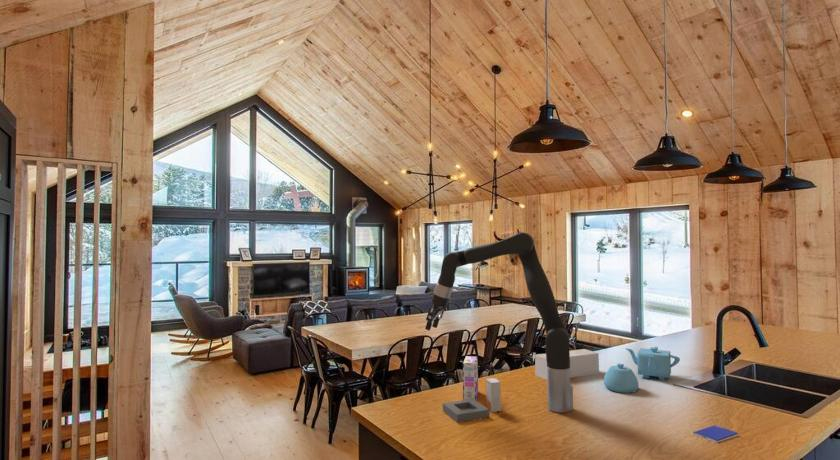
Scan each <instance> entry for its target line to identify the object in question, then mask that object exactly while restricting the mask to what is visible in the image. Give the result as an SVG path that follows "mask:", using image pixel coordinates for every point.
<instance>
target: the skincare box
mask: <svg viewBox="0 0 840 460" xmlns="http://www.w3.org/2000/svg"><path fill="white" fill-rule="evenodd" d="M501 391H502V390H501V381H500V380H499V379H498V378H496V377H490V378H486V408H487V409H489V412H490V413H496V412H497V411H500V412H502V400H501V399H502V398H501V397H502V396H501V395H502V392H501Z"/></svg>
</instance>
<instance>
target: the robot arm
mask: <svg viewBox="0 0 840 460" xmlns="http://www.w3.org/2000/svg"><path fill="white" fill-rule="evenodd" d="M536 249H537V248H536V246H535V241H534V238H533V237H532V235H531V234H529V233H526V232H517V233H515V234H514V235H512V236H509V237H507V238H505V239H502V240H499V241H494V242H492V243H485V244H484V243H483V244H480V245H477V246H476V245H475V246H472V247H469V248H465V249H464V250H463V249H462V250H459V251H454V252H452V251H451V252H448V253H446V254H445V255H444V258H443V260H442V262H441V269H440V275H439V277H438V281H437V283H436V286H435V288H434V291H433V294H432V298H431V301H430V302H431V303H432V304H433V306H432V307H429V309H428V312H427V316H426V318H425V320H426V325H425V328H424V329H425V331H426V330H427V331H431V328H432V327H433V328H438V325H439V323H440V321H441V319H442V318H443V316H444V312H445V309H446V308H447V307H448V305H449V301H450V298H451V294H452V290H453V287H454V284H455V280H456V276H455V275H456V272H457V269H458V268H459V267H463V266H466V265H469V264H470V265H473V264H478V263H480V262H481V263H482V262H484V261H488V260H491V259H494V258H498V257H500V256H506V255H515V254H517V256H518V258H519V260H520V263H521V265H522V269H523V274H524V280H525V285H526V287H527V290H528V293H529V296H530V299H531V301H532V302H533V304H534V308H536V310H537V312H538V313H539V316H540V317H541V320H542V322H543V326H544V329H545V334H546V335H545V354H546V361H547V380H546V381H547V382H546V385H547V386H546V387H547V388H546V389H547V409H548V410H549V411H551V412H555V413H560V414H561V413H569V412H571V411H573V410H574V390H573V389H574V386H573V385H572V382H571V377H570V351H571V350H570V334H569V331H568V330H567V328H566V326H565V324H564V322H563V320H562V317H561V316H560V314H559V309H558V307H557V302H556V298H555V295H554V292H553V290H552V286H551V284H550V281H549V280H548V277H547V275H546V273H545V271H544V269H543V266H542V264H541V263H540V260H539V257H538V253H537V250H536Z"/></svg>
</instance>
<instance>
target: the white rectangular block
mask: <svg viewBox="0 0 840 460" xmlns="http://www.w3.org/2000/svg"><path fill="white" fill-rule="evenodd" d="M569 351H570V378H577V377H583V376H584V377H585V376H591V375H598V374H600V359H599V358H600V357H599V354H600V353H599V352H596V351H593V350H589V349H585V348H582V349H573V350H569ZM534 358H535V359H534V362H535V363H534V364H535V365H534V367H535V373H534V374H535V376H537V377H539V378H540V379H541V378H542V379H544V380H546V381H547V361H546V353H539V354H534Z"/></svg>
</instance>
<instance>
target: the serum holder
mask: <svg viewBox="0 0 840 460" xmlns="http://www.w3.org/2000/svg"><path fill="white" fill-rule="evenodd" d="M442 411H443V412H444V413H445V414H446V415H447V414H448V416H449V418H451V419H452V420H453V421H454V422H456V423H464V422H469V421H468V420H470V421H475V420H474V419H476V420H481V419H480V418H482V419H487V418H486V417H489V418H490V410H489V409H488V408H487V406H484V405H483V404H482V403H480V402H478V401H477V399H476V400H474V399H468V400H456V401H450V402H449V401H448V402H442ZM463 421H464V422H463Z"/></svg>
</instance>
